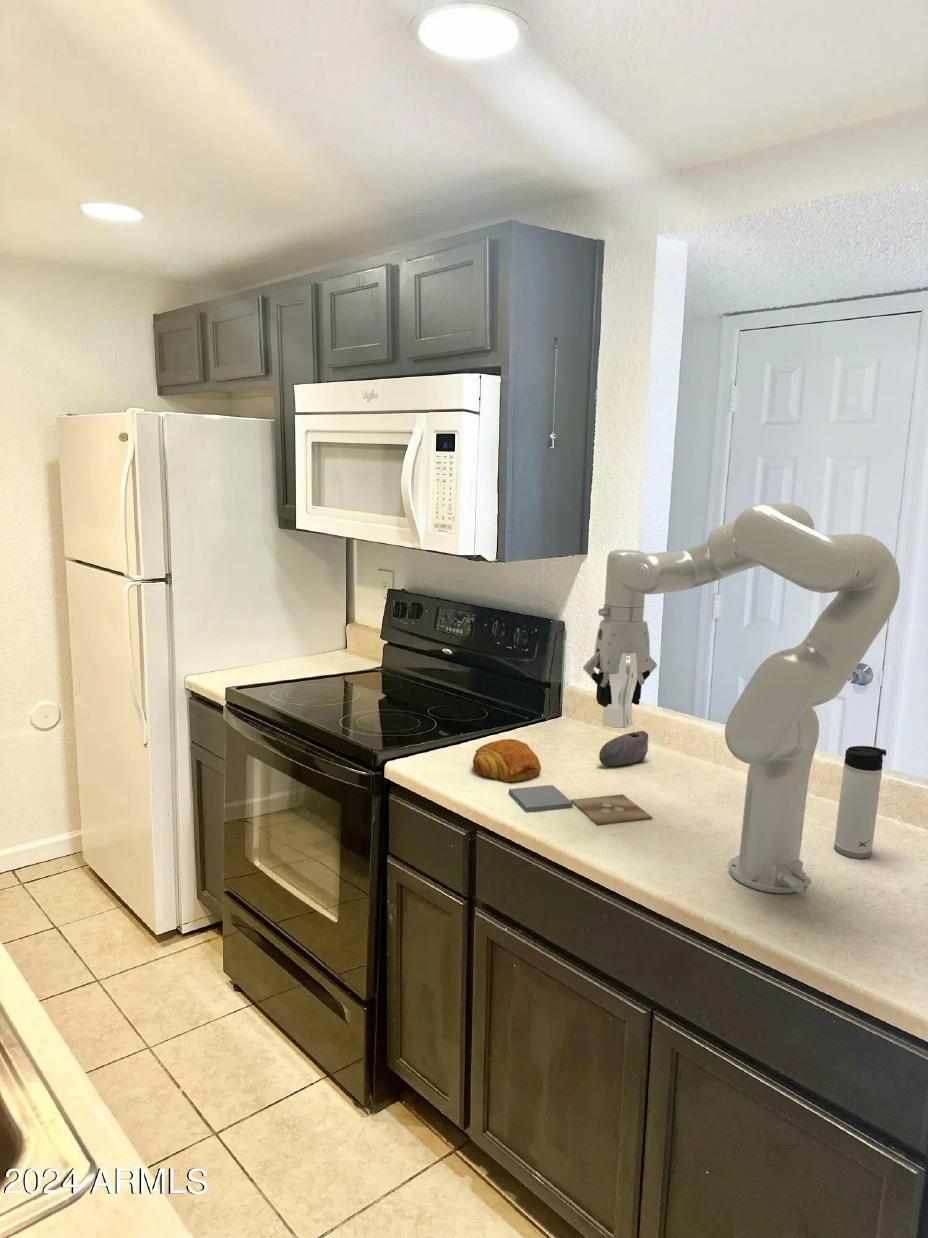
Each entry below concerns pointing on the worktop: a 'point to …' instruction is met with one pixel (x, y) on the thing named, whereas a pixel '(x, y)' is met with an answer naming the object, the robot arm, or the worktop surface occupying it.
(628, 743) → the perforated stone tool
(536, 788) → the rubber mat
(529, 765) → the croissant
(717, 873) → the worktop surface
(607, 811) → the dot tile
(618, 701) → the beer glass
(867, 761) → the travel mug
